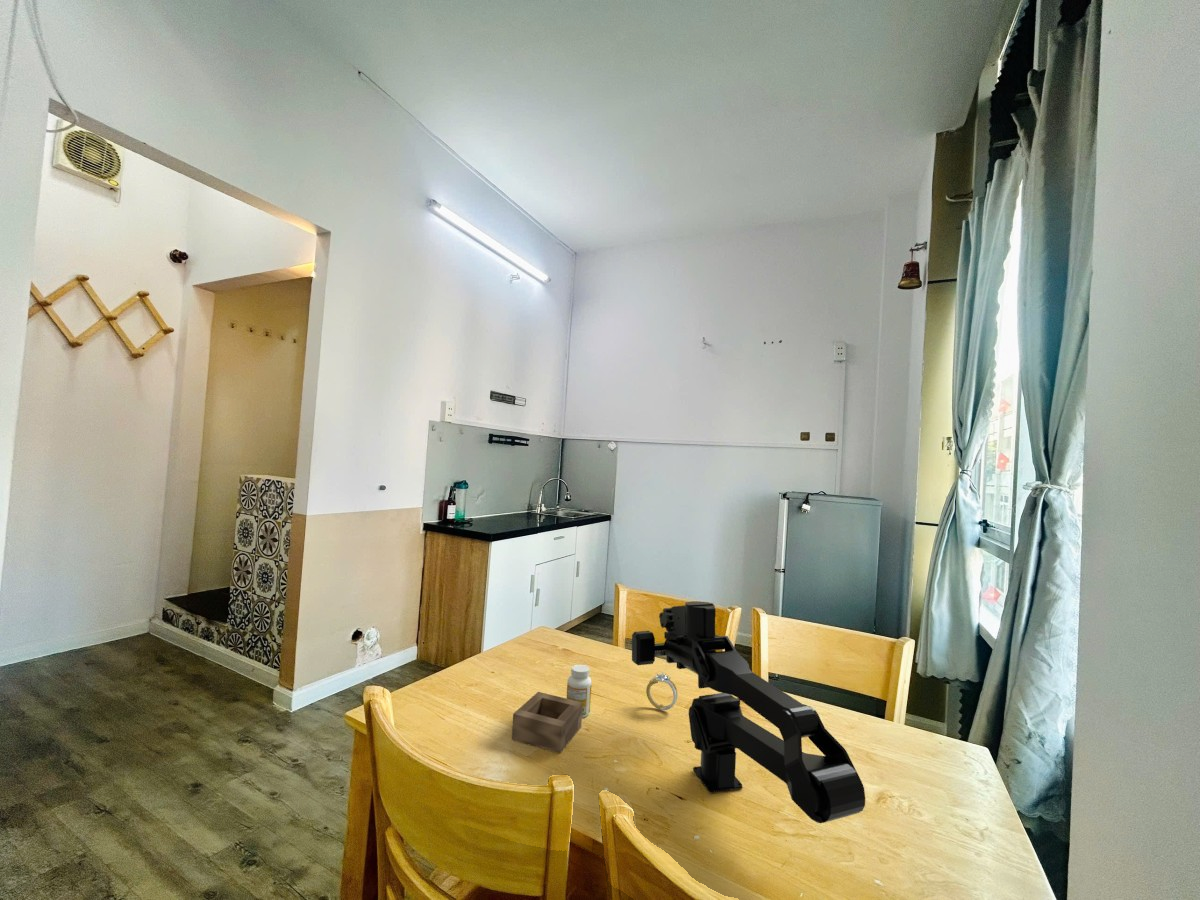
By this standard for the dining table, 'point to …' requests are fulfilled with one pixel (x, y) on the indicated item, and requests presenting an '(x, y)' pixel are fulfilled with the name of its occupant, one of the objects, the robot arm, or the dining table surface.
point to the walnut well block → (547, 722)
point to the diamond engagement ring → (667, 680)
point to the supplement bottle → (580, 687)
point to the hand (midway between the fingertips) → (655, 636)
